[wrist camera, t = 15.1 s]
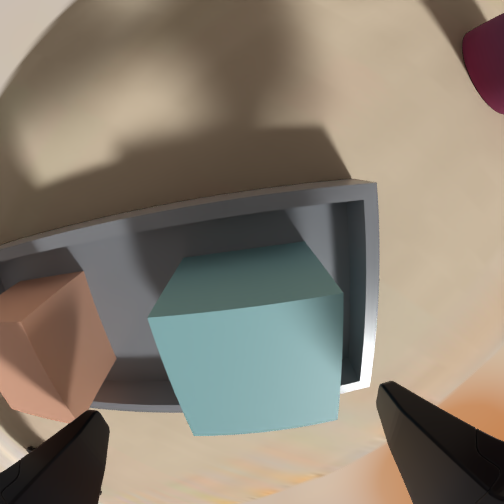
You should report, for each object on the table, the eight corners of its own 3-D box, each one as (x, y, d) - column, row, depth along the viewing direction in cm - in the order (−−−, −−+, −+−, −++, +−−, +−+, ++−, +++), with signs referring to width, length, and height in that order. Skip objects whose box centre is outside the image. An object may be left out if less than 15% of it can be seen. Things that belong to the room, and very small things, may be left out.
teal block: (207, 355, 12) (194, 436, 8) (183, 257, 11) (147, 317, 6) (310, 342, 12) (337, 419, 8) (304, 241, 11) (343, 292, 6)
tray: (45, 375, 13) (29, 397, 11) (-7, 247, 11) (-33, 259, 9) (354, 357, 13) (369, 386, 11) (352, 178, 10) (376, 182, 8)
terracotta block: (52, 356, 12) (11, 408, 8) (20, 281, 11) (-37, 321, 6) (116, 358, 12) (80, 425, 8) (83, 271, 11) (21, 321, 6)
